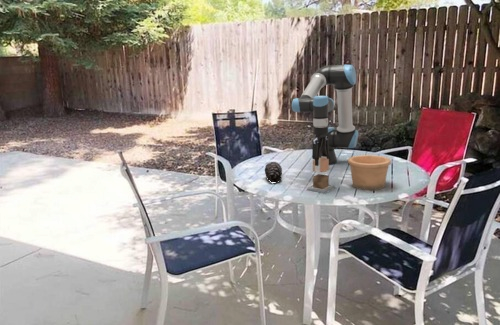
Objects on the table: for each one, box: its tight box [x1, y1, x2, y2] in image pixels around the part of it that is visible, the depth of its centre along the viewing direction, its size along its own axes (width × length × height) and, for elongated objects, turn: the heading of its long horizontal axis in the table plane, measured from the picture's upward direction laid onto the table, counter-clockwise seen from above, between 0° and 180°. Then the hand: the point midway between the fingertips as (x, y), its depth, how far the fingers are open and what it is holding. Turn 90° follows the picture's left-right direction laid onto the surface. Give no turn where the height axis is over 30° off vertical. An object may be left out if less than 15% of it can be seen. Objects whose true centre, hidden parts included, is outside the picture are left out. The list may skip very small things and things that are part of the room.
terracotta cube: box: [312, 158, 330, 173], centre depth 214 cm, size 6×6×6 cm
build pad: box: [306, 184, 336, 194], centre depth 217 cm, size 11×11×1 cm
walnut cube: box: [312, 173, 330, 189], centre depth 217 cm, size 6×6×6 cm
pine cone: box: [264, 161, 283, 183], centre depth 237 cm, size 10×18×10 cm, turn 8°
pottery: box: [347, 154, 392, 191], centre depth 218 cm, size 22×22×14 cm
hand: (320, 169), depth 215 cm, fingers closed on terracotta cube, 6 cm apart
